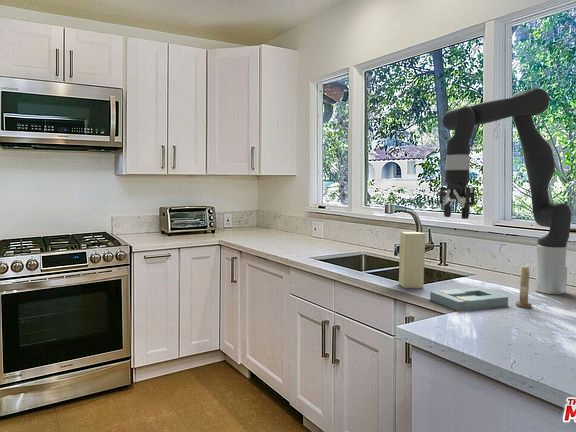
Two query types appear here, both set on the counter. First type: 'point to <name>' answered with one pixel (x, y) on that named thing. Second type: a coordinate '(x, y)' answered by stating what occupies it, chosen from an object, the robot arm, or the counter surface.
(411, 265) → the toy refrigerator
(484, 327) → the counter surface
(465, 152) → the robot arm
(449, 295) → the keyhole board
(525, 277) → the boss peg
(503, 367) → the counter surface
